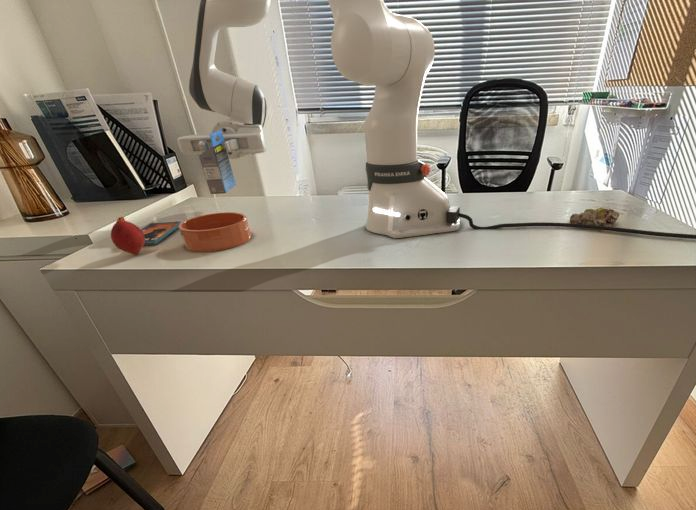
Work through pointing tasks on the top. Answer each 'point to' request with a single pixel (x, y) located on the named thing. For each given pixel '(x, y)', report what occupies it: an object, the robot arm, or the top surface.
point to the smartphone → (158, 231)
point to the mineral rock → (596, 217)
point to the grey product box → (217, 166)
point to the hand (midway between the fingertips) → (213, 147)
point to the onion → (127, 236)
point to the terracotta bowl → (215, 231)
